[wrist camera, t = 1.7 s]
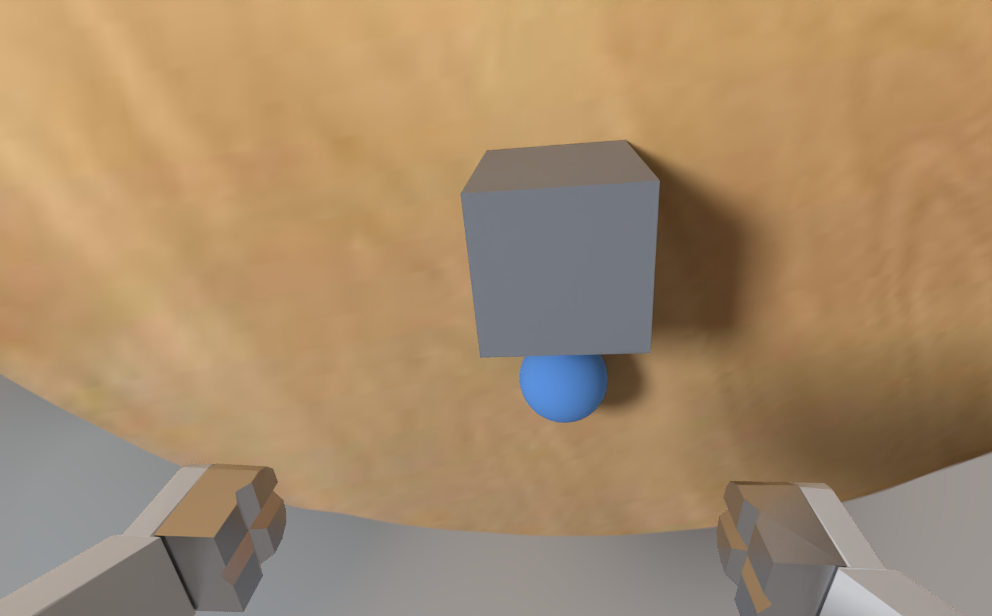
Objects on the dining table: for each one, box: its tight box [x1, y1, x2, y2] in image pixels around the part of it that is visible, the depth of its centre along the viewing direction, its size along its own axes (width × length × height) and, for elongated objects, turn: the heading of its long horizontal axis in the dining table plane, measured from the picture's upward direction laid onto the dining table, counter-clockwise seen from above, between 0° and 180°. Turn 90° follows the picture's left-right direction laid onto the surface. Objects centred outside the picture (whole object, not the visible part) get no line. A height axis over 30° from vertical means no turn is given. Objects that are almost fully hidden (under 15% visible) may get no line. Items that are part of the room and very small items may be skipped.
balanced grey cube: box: [461, 140, 660, 358], centre depth 23 cm, size 7×7×9 cm
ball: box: [520, 354, 608, 423], centre depth 29 cm, size 5×5×5 cm
